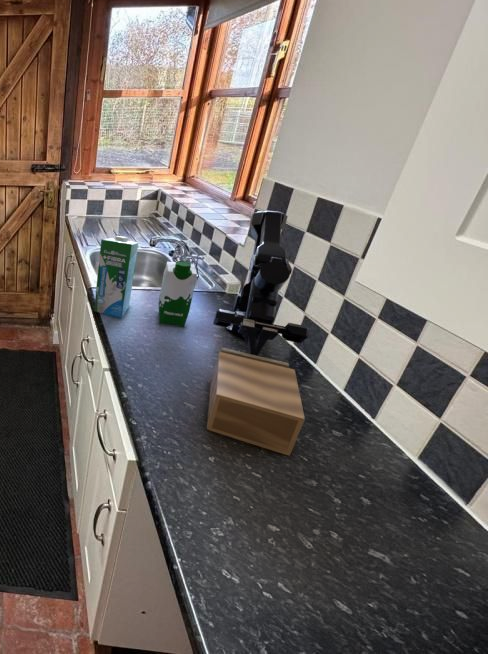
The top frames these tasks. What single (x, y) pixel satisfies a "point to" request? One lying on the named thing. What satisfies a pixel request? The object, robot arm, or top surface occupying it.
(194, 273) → the soya milk
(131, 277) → the milk carton
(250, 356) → the drawer
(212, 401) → the cabinet
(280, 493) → the top surface
